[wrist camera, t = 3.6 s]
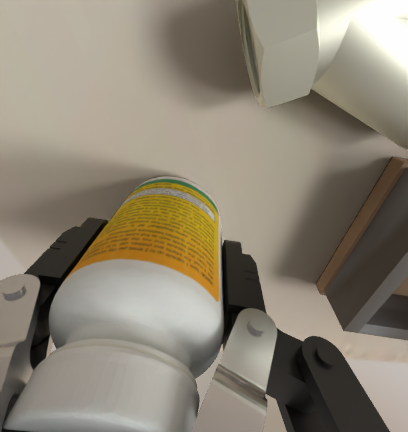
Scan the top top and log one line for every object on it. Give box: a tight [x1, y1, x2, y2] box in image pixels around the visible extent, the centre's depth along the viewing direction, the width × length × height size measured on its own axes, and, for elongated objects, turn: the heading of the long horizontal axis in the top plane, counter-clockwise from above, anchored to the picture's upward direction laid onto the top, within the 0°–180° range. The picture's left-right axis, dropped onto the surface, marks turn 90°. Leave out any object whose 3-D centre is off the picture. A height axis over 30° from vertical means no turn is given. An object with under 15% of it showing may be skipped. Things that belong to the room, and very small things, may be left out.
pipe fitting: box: [236, 0, 408, 149], centre depth 8 cm, size 8×4×7 cm
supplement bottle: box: [3, 176, 224, 432], centre depth 9 cm, size 5×5×10 cm
